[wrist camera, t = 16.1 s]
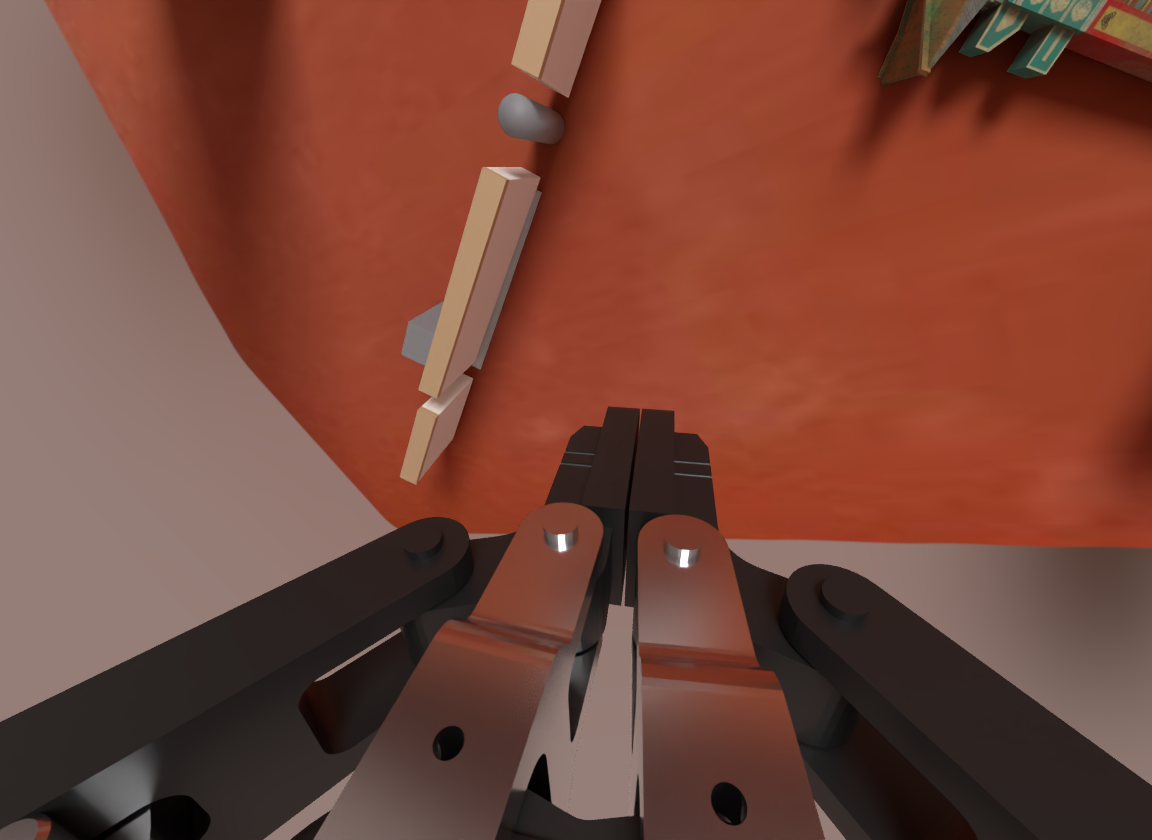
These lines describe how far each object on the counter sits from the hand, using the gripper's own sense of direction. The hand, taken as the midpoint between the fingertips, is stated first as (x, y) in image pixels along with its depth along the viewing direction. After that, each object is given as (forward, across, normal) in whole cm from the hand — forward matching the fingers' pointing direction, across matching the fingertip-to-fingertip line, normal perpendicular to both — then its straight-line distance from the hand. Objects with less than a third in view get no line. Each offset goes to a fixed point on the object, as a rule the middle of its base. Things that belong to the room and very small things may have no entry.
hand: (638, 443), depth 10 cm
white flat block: (+26, +13, +2) cm, 29 cm away
